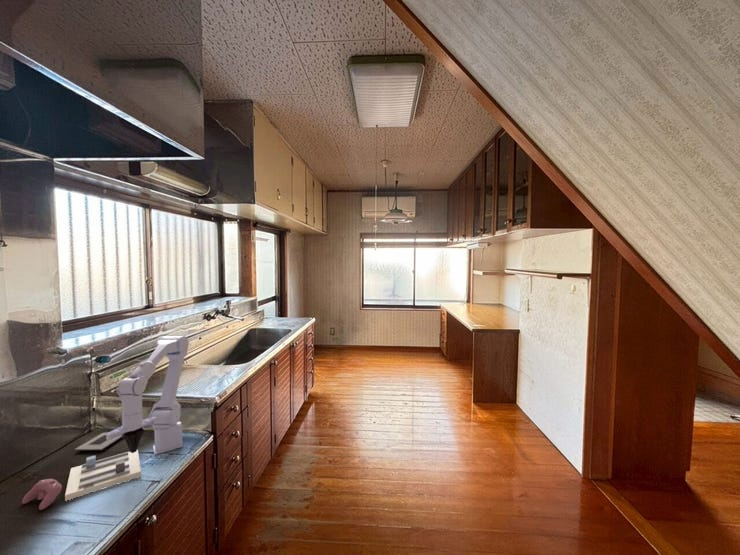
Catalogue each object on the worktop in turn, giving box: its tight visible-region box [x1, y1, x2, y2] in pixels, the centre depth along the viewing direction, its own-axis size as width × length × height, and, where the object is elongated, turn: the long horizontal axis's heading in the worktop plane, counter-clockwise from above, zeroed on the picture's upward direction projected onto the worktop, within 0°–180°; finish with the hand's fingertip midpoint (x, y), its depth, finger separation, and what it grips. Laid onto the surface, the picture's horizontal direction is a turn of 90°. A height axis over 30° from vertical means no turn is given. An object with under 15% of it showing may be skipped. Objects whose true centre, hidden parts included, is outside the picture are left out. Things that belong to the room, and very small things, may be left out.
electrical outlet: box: [74, 432, 123, 452], centre depth 134 cm, size 13×10×2 cm
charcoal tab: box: [116, 460, 125, 474], centre depth 111 cm, size 2×2×3 cm
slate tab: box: [85, 455, 97, 469], centre depth 114 cm, size 2×2×3 cm
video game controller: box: [21, 478, 63, 511], centre depth 101 cm, size 10×5×7 cm, turn 71°
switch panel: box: [64, 449, 142, 502], centre depth 113 cm, size 19×18×3 cm
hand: (133, 451), depth 114 cm, fingers closed
